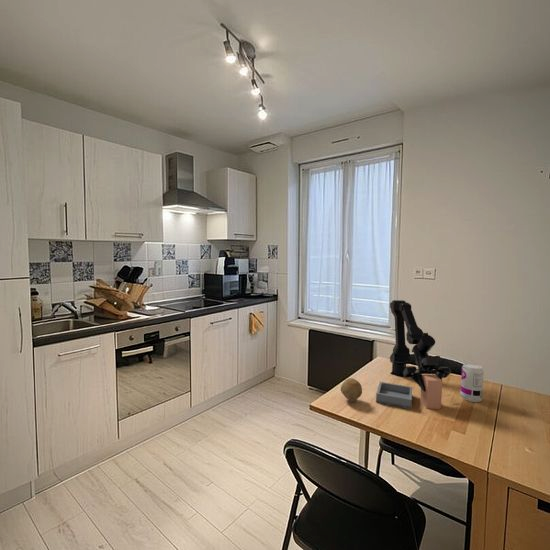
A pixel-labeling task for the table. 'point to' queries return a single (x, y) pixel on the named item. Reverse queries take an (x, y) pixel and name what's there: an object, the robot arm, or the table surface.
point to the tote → (394, 395)
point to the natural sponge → (351, 389)
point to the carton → (431, 392)
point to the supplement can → (472, 382)
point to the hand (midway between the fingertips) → (432, 391)
